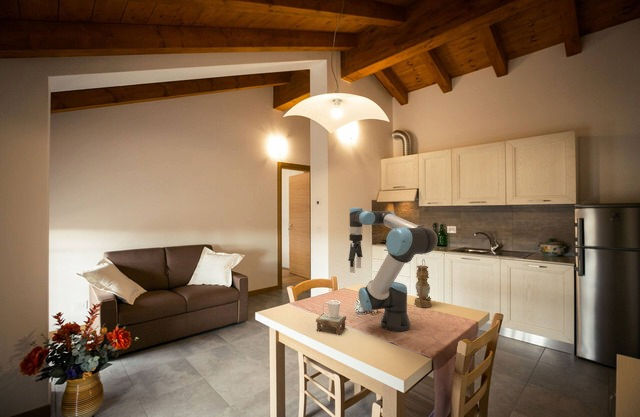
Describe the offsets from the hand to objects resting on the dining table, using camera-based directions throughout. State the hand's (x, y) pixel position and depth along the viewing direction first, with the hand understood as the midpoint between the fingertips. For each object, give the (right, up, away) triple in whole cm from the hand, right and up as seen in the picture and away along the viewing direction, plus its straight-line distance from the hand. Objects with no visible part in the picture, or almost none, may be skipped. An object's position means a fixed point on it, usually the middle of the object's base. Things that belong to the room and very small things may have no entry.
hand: (355, 270), depth 176 cm
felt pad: (-15, -21, -20) cm, 32 cm away
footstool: (-15, -27, -20) cm, 36 cm away
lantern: (+46, -27, +20) cm, 57 cm away
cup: (-15, -21, -20) cm, 32 cm away
